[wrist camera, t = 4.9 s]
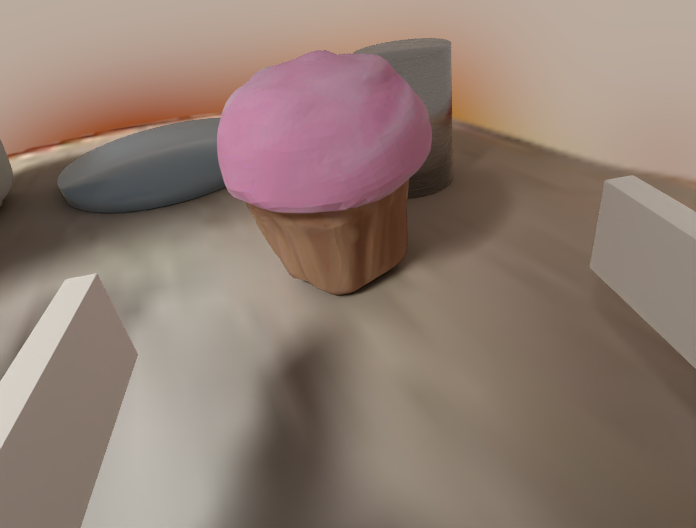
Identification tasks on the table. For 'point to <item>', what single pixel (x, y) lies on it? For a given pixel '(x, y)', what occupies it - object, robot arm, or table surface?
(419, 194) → the metal tin
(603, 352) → the table surface
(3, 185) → the teacup
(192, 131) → the plate
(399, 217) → the cupcake
